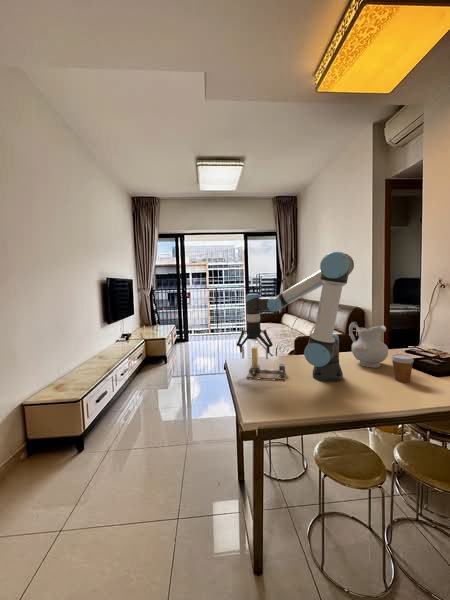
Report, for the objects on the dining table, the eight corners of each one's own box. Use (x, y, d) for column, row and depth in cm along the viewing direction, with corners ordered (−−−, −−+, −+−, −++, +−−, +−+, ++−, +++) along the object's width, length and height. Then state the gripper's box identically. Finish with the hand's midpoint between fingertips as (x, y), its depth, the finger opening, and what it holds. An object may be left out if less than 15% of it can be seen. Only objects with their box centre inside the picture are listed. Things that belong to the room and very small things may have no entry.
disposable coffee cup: (411, 377, 135) (411, 354, 134) (416, 384, 126) (416, 359, 126) (389, 375, 139) (389, 353, 138) (392, 382, 130) (392, 358, 130)
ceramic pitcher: (343, 366, 160) (341, 326, 157) (352, 356, 174) (351, 319, 171) (384, 373, 146) (384, 329, 142) (391, 361, 160) (390, 321, 157)
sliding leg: (260, 370, 153) (259, 346, 152) (258, 375, 145) (257, 350, 144) (251, 369, 154) (250, 346, 154) (249, 374, 146) (248, 350, 145)
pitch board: (285, 372, 150) (285, 363, 150) (284, 380, 139) (284, 370, 138) (250, 371, 156) (249, 362, 155) (246, 378, 144) (246, 368, 144)
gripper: (276, 320, 150) (277, 357, 152) (233, 320, 157) (234, 355, 158) (275, 322, 143) (276, 361, 144) (230, 322, 149) (232, 359, 151)
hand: (254, 358), depth 151 cm, fingers open, 13 cm apart
